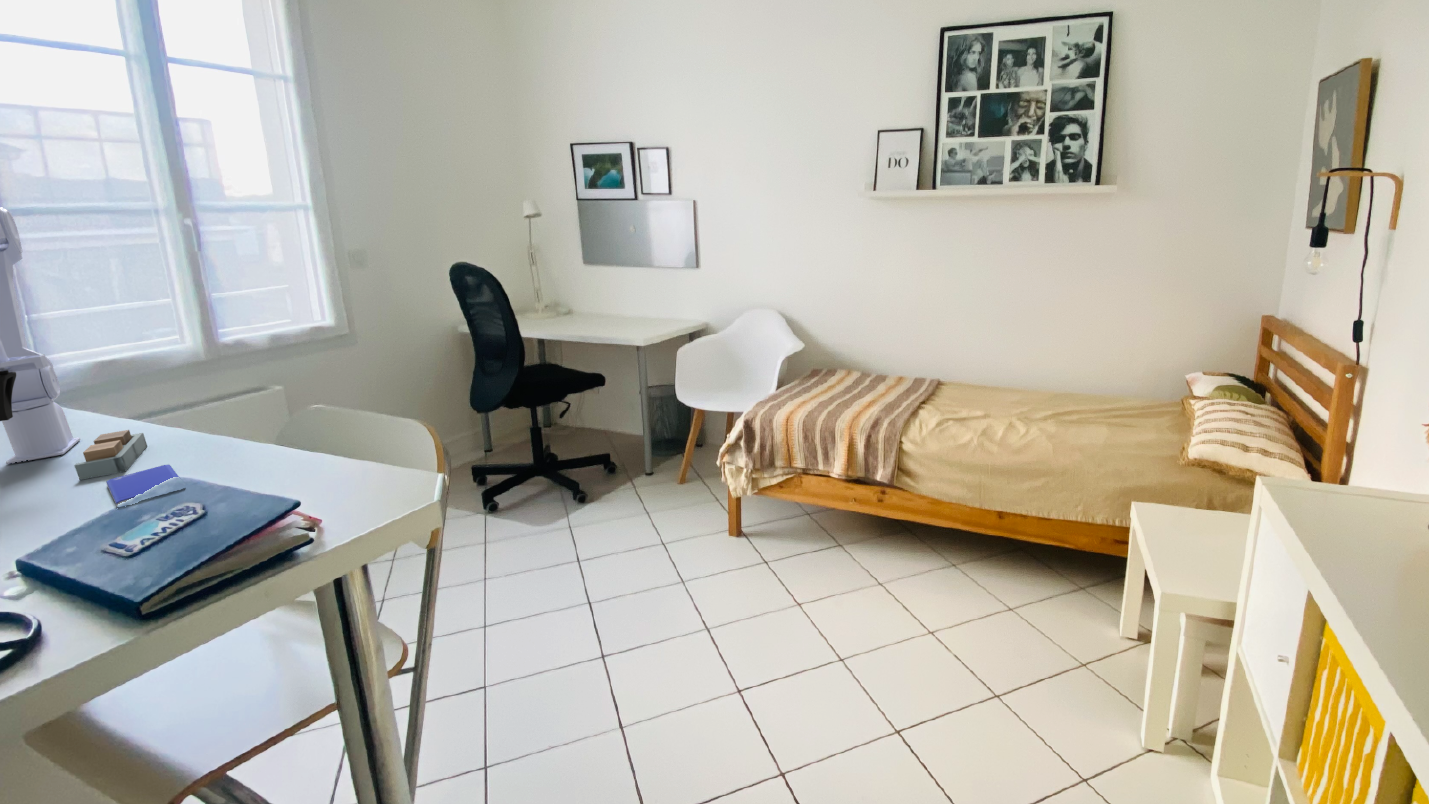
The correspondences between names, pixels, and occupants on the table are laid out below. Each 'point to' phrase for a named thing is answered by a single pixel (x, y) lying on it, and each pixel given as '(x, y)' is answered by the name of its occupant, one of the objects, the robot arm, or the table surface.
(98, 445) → the block
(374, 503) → the table surface
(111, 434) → the seated block
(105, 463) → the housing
